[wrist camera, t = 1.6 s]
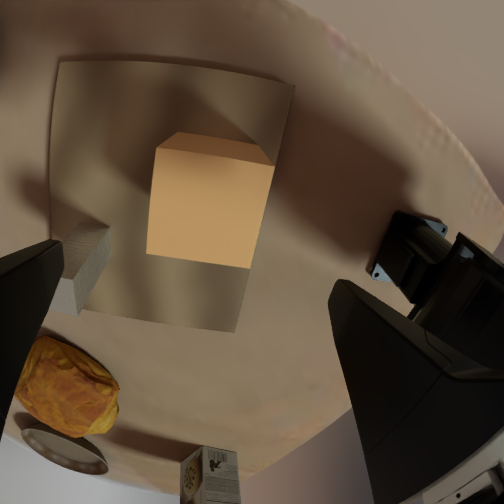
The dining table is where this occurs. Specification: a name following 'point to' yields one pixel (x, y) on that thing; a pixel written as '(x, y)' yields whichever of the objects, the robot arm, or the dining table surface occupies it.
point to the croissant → (67, 389)
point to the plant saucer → (65, 449)
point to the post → (81, 266)
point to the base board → (150, 175)
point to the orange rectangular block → (207, 199)
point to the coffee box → (210, 477)
